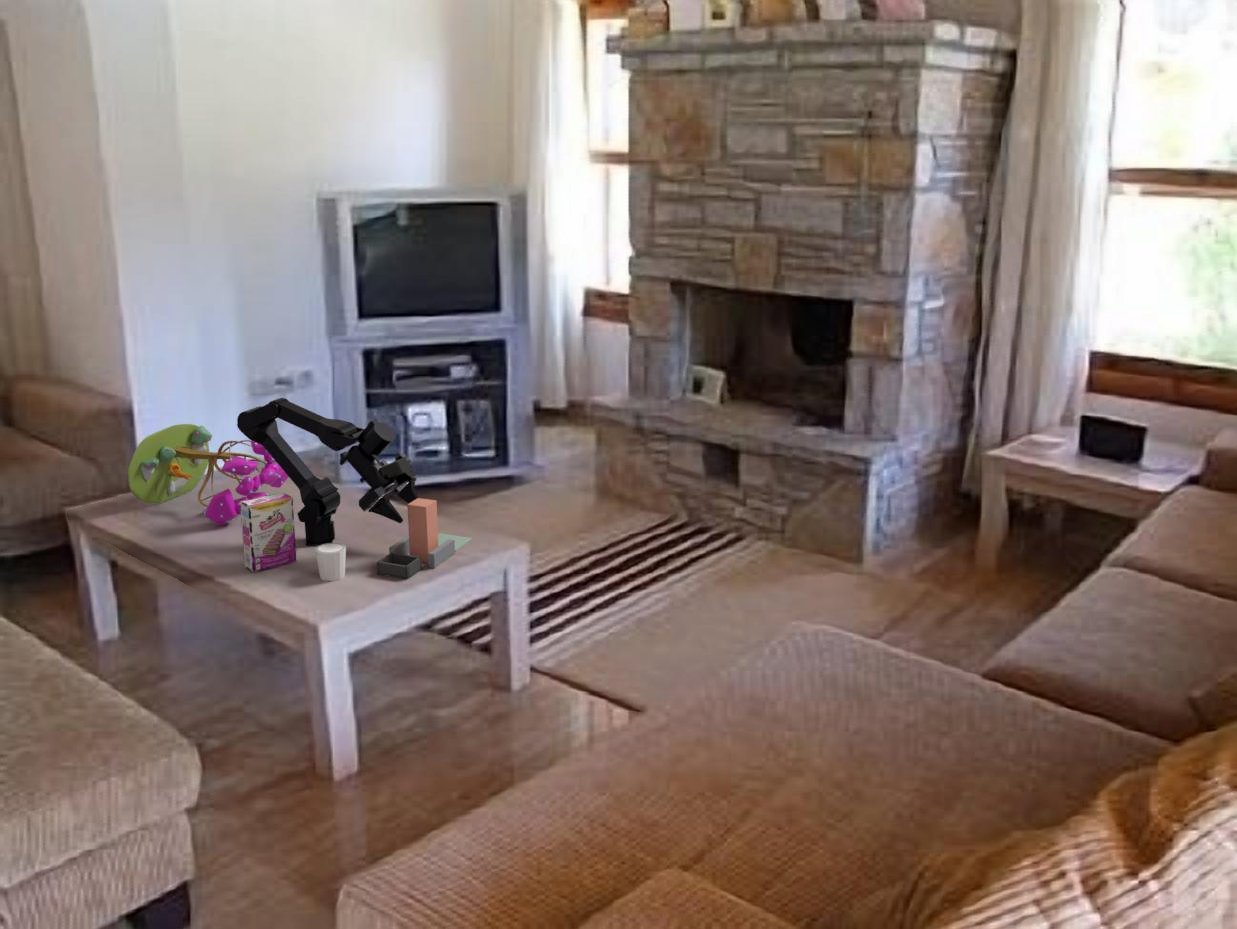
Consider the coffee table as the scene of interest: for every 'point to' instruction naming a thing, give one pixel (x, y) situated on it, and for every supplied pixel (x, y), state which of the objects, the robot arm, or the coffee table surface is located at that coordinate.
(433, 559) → the grey parallel walls
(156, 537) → the coffee table surface
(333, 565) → the white cup
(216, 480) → the coffee table surface
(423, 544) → the salmon-pink block
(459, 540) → the sage mat
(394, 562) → the dark grey open box
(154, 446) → the lily pad toy
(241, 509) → the candy bar box
